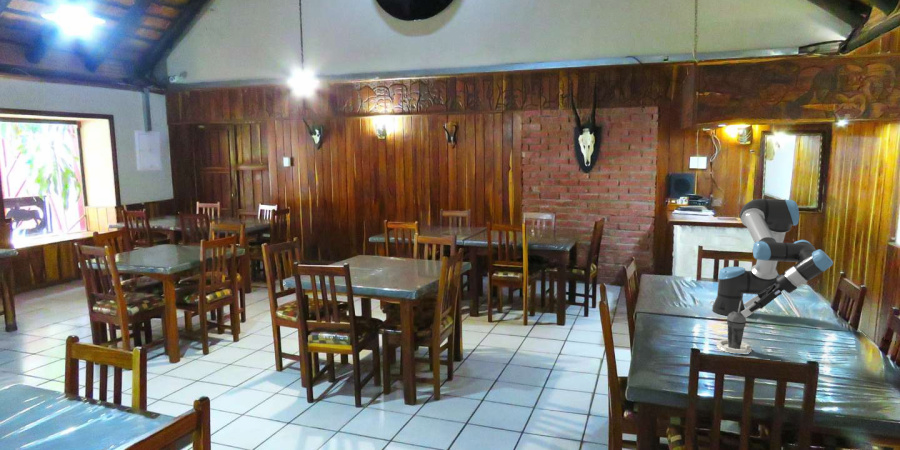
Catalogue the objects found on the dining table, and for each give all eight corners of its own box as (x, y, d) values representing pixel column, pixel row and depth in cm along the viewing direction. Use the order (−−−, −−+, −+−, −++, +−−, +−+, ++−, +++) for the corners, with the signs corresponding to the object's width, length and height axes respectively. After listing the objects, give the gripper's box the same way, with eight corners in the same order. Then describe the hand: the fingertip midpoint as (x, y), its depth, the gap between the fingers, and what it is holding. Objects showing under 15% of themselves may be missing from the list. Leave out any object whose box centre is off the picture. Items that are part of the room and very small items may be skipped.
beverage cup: (720, 344, 235) (724, 298, 232) (737, 344, 235) (741, 298, 233) (730, 350, 228) (734, 303, 225) (747, 350, 228) (751, 303, 226)
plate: (744, 344, 237) (744, 340, 237) (756, 356, 225) (757, 351, 224) (712, 343, 239) (712, 338, 239) (722, 354, 226) (723, 349, 226)
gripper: (798, 294, 206) (749, 326, 216) (798, 281, 227) (753, 310, 237) (782, 278, 208) (734, 310, 218) (784, 266, 229) (740, 296, 239)
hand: (744, 310), depth 227 cm, fingers open, 13 cm apart
